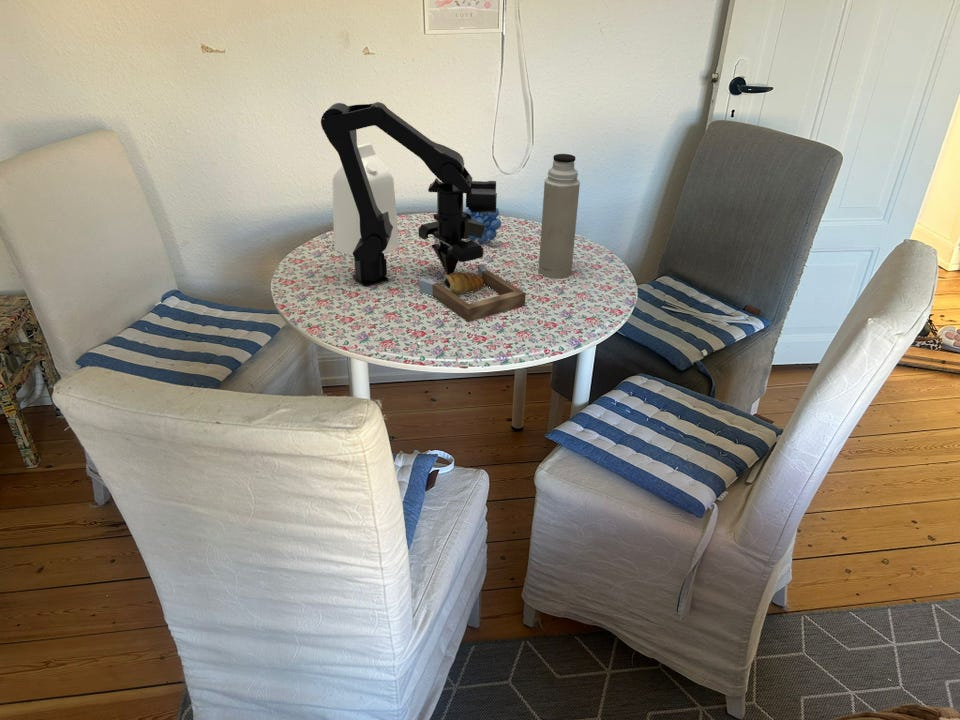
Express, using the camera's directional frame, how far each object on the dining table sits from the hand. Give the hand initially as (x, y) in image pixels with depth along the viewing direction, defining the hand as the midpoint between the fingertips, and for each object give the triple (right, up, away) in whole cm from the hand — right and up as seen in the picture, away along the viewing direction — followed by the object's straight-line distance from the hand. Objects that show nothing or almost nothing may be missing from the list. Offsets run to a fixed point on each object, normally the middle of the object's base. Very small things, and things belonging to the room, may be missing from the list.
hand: (449, 275), depth 167 cm
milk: (-22, +9, +18) cm, 30 cm away
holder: (+5, -6, -6) cm, 10 cm away
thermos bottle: (+25, +2, +7) cm, 26 cm away
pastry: (+3, -3, -2) cm, 5 cm away
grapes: (+8, +11, +23) cm, 27 cm away
